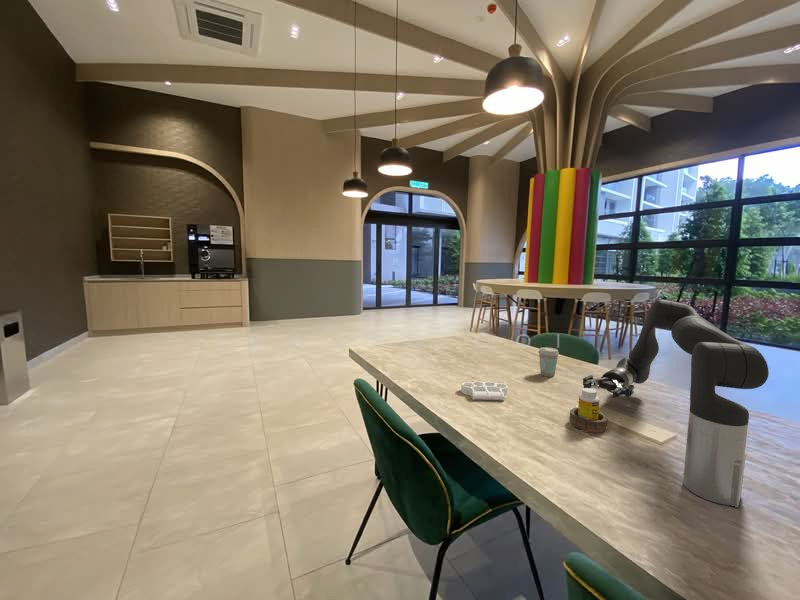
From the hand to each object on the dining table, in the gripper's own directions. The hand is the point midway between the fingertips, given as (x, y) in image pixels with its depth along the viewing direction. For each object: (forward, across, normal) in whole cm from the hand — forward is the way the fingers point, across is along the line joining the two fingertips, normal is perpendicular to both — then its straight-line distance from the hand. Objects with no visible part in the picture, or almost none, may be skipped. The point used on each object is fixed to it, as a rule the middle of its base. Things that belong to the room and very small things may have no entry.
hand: (599, 390), depth 109 cm
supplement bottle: (+8, 0, +8) cm, 12 cm away
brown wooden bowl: (+8, 0, +9) cm, 12 cm away
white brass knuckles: (+12, -36, +10) cm, 39 cm away
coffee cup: (-30, -32, +10) cm, 45 cm away
